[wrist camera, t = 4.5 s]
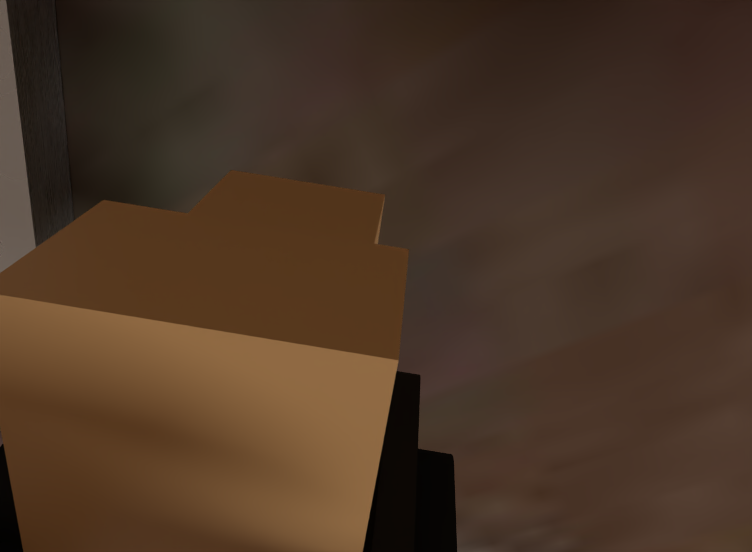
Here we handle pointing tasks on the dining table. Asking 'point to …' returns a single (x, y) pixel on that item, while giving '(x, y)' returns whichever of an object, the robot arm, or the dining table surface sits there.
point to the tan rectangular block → (203, 372)
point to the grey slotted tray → (31, 130)
